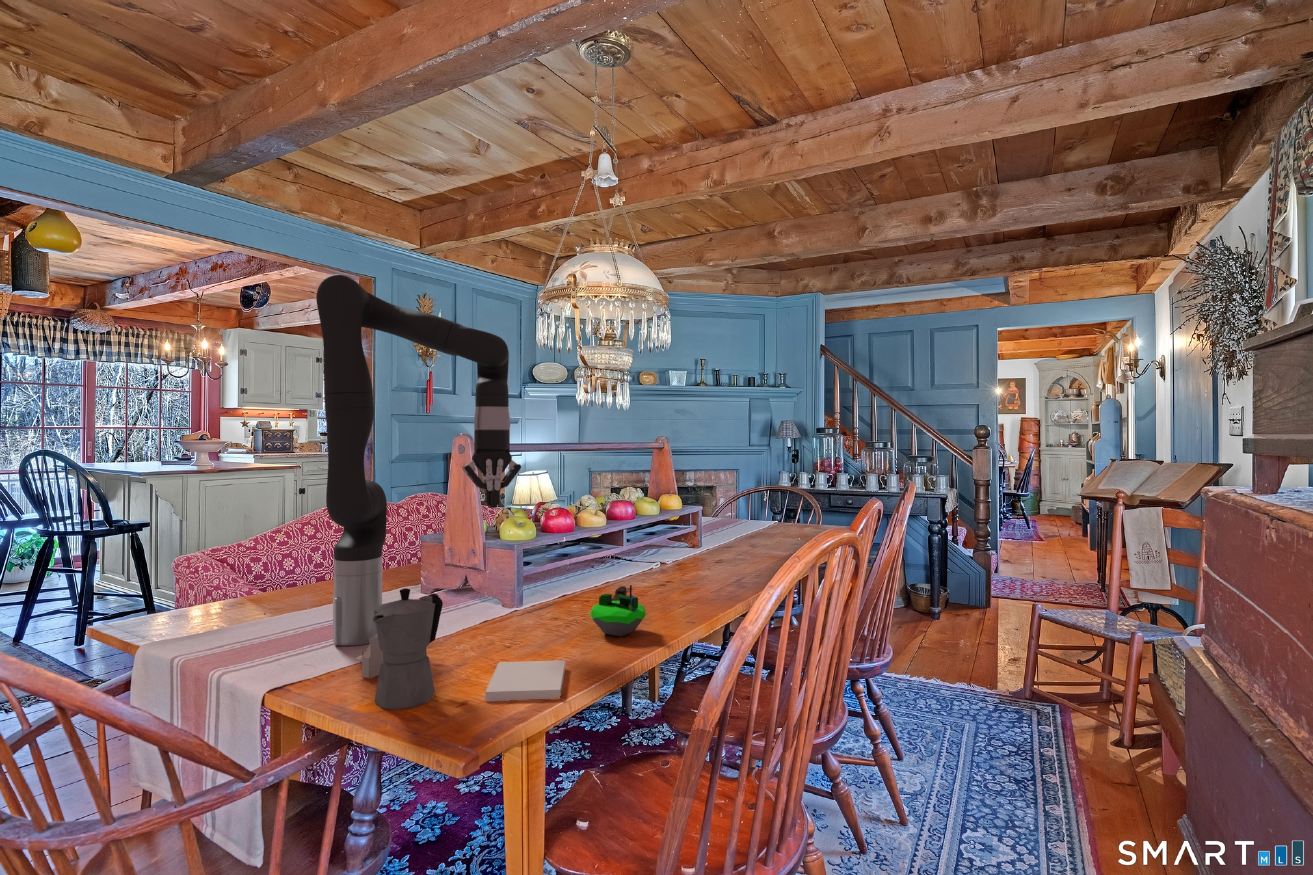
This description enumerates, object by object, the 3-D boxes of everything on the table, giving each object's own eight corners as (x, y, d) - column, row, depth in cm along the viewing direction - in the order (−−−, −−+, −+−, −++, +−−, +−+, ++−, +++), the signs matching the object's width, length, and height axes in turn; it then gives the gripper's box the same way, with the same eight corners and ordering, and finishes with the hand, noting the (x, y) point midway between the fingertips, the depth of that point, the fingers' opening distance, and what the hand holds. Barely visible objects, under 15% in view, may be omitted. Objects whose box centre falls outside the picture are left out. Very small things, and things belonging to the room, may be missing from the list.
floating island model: (654, 631, 147) (655, 581, 147) (626, 645, 137) (628, 591, 137) (608, 623, 153) (609, 575, 153) (578, 636, 143) (579, 584, 143)
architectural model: (355, 678, 120) (355, 636, 120) (385, 665, 126) (385, 626, 126) (369, 681, 119) (369, 639, 118) (399, 668, 125) (399, 628, 125)
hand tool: (616, 623, 153) (616, 603, 153) (599, 622, 154) (599, 602, 154) (634, 603, 172) (635, 585, 172) (619, 602, 173) (619, 584, 173)
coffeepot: (398, 719, 102) (398, 600, 101) (351, 709, 105) (350, 595, 105) (463, 683, 116) (463, 579, 116) (419, 676, 119) (419, 575, 119)
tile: (498, 673, 122) (485, 704, 109) (498, 662, 122) (485, 691, 109) (565, 671, 123) (560, 701, 109) (565, 660, 123) (560, 689, 109)
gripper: (516, 428, 153) (516, 504, 153) (457, 428, 146) (457, 507, 146) (527, 428, 146) (527, 507, 146) (465, 427, 140) (465, 511, 140)
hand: (492, 507), depth 146 cm, fingers closed
